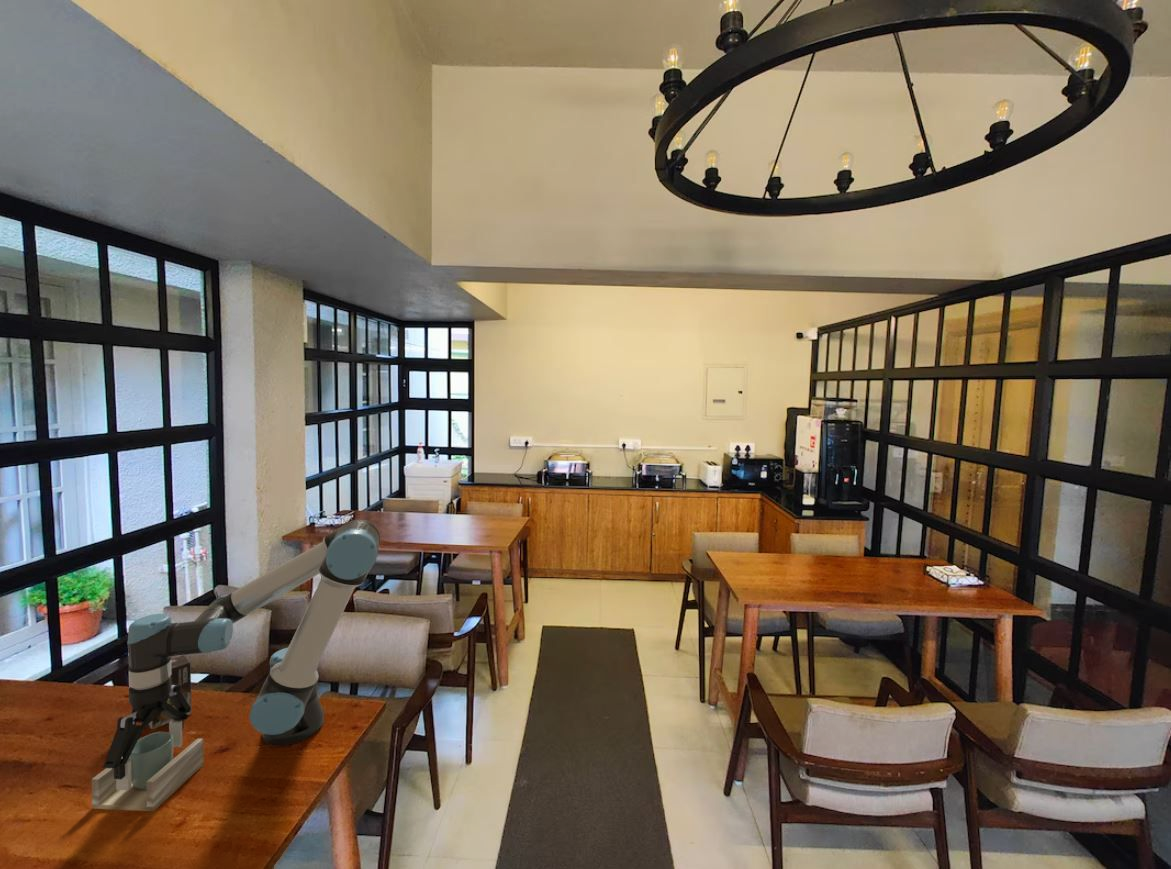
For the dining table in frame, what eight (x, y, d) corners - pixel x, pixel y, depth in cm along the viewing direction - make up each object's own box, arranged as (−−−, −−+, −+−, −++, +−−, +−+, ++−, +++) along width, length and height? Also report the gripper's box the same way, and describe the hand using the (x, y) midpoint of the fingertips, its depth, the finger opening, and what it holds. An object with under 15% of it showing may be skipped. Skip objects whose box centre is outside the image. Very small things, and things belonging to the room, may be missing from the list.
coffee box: (185, 705, 144) (185, 654, 143) (192, 714, 140) (191, 661, 139) (145, 720, 136) (144, 666, 135) (151, 730, 133) (150, 675, 132)
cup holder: (203, 764, 121) (203, 738, 121) (153, 811, 107) (153, 781, 107) (149, 762, 121) (148, 736, 121) (92, 808, 107) (91, 779, 107)
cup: (146, 798, 109) (145, 756, 109) (120, 791, 111) (119, 750, 110) (181, 773, 117) (181, 734, 116) (156, 766, 119) (156, 728, 118)
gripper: (179, 653, 125) (180, 730, 126) (78, 714, 100) (80, 809, 101) (207, 654, 125) (208, 731, 126) (113, 716, 100) (115, 810, 101)
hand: (151, 766), depth 114 cm, fingers open, 13 cm apart
